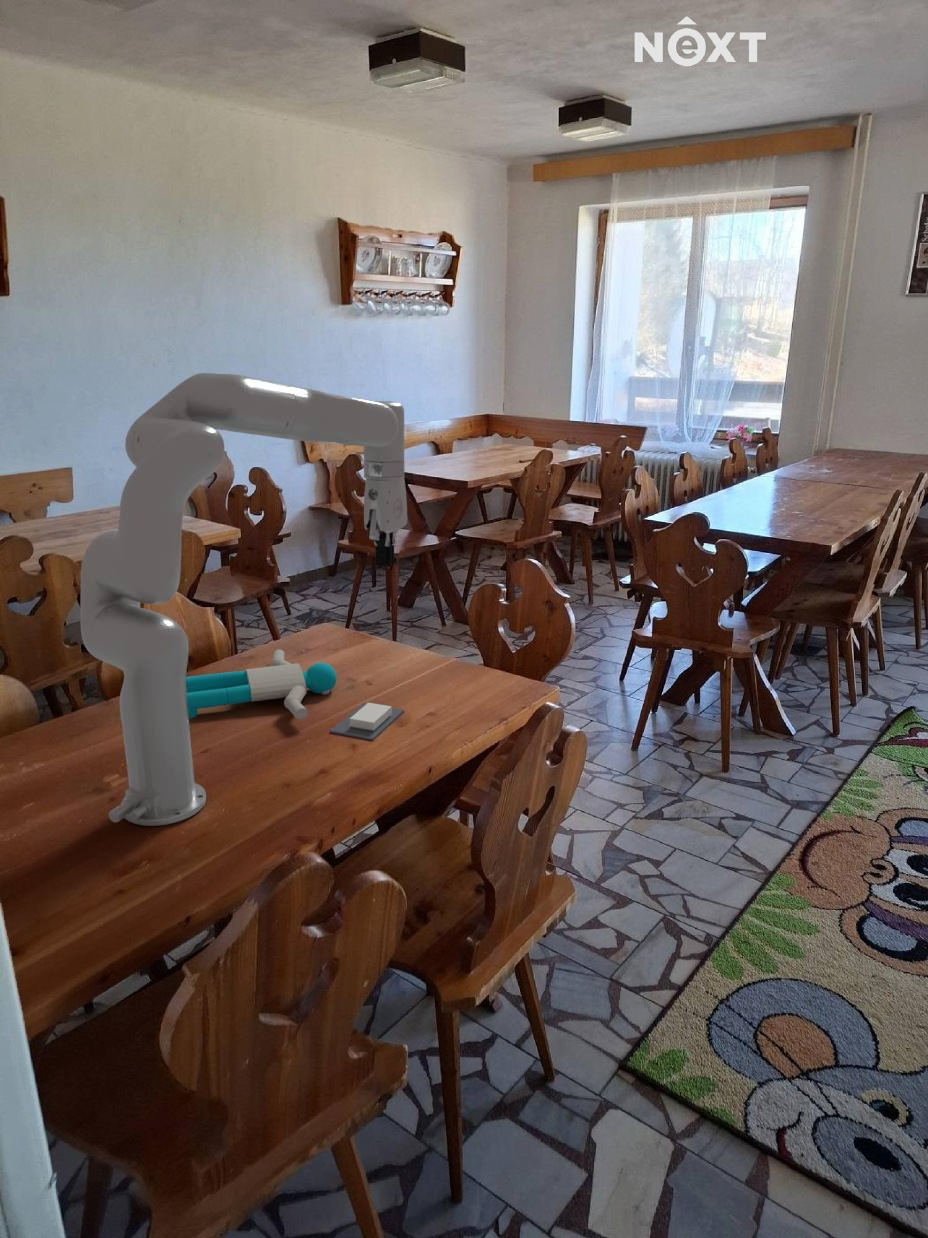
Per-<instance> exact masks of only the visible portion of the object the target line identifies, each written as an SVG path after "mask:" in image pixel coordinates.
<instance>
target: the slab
mask: <svg viewBox="0 0 928 1238" xmlns="http://www.w3.org/2000/svg"><path fill="white" fill-rule="evenodd" d="M392 708H393V707H392V706H390V705H385V704H379V703H373V702H367V704H366V705H365V706H364V707H363V708H361V709H360V710H359V711H358V712H357V713H356V714H354V715H353V716H352V717H351V718H350V726H351V727H352V728H358V729H363V730H369V731H375V730H376V729H377V728H378V727H379V726H380V725H381V724H382V723H383V722H385V721H386V720H387V719H388V718H389V717H390V715H391V714H392Z"/></svg>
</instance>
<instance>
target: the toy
mask: <svg viewBox="0 0 928 1238" xmlns="http://www.w3.org/2000/svg"><path fill="white" fill-rule="evenodd" d="M285 654H286V653H285V651H284V650H283V649H276V650H274V651H273V653H272V659H271V661H270V666H264V667H262V666H261V667H254V668H246V669H244V670H240V671H227V672H220V673H207V674H201V675H192V676H186V697H187V709H188V718H189V719H193V718H195V717H197V716H198V709H199V710H200V709H206V708H207V709H208V708H215V707H222V706H227V705H229V706H230V705H236V704H241V703H247V702H251V703H252V702H259V701H267V700H268V701H269V700H276V699H282V698H285V699H284V700H283V705H284V707H285V708H286V709H288V710H289V711H290V712H291V714H292V715H293V716H294V717H295V718H296V719H297V720H304V719H305V718H307V716H308V714H309V712H308V710H307V708H305V706H304V705H303V704H302V701H303V698H304V697H305V696H306V695H307V692H308V690H310V692H312V693H314V694H318V695H320V694H321V695H323V696H327V695H329V694H330V692H331V691H332V690H333V688H334V687H335V685H336V684H337V673H336V671H335V669H334V667H333V666H331V665H330V664H328V663H325V662H316V663H314V664H312V665H310V666H309V667H308V668H307V670H304V671H303V669H302V667H301V665H300V664H299V663H298V662H297V663H290V662H288V661H287V660H285ZM307 689H308V690H307ZM196 715H197V716H196ZM192 717H193V718H192Z"/></svg>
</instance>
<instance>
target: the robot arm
mask: <svg viewBox="0 0 928 1238" xmlns="http://www.w3.org/2000/svg"><path fill="white" fill-rule="evenodd" d="M218 430H219V431H227V432H232V433H241V434H247V435H257V436H263V437H270V438H278V439H279V438H280V439H285V440H292V441H301V442H310V443H311V442H315V443H316V442H318V443H319V442H320V443H321V442H323V443H324V442H325V443H336V444H341V445H348V446H355V447H356V446H358V447H363V478H365V484H364V485H365V486H364V499H363V521H364V522H363V524H364V529H365V530H366V531H367V532H369V540H372V541H373V543H374V546H375V565H376V566H379V567H386V568H391V567H392V566H394V565H395V544H396V534H397V533H398V531H400V529H402V528H404V527H405V526H406V525H407V524H408V503H407V502H408V501H407V500H408V499H407V489H406V482H405V409H404V406H403V405H402V404H401V403H400V402H397V401H390V400H389V401H388V400H387V401H386V400H376V401H375V400H374V401H371V400H366V399H361V398H355V397H351V396H344V395H338V394H334V393H329V392H328V393H327V392H324V391H321V390H317V389H316V390H315V389H312V388H306V387H300V386H296V385H291V384H286V383H280V382H275V381H271V380H265V379H260V378H255V377H251V376H246V375H240V374H231V373H215V372H214V373H212V372H211V373H210V372H201V373H196V374H193V375H192V376H190V377H188V378H186V379H185V380H183V381H182V382H181V383H179V384H178V385H177V386H175V387H174V388H173V389H172V390H170V391H169V392H168V393H166V394H165V395H164V396H163V397H162V398H160V399H159V400H158V401H157V402H156V403H154V404H153V405H152V406H151V407H149V409H147V410H146V411H145V412H143V413H142V414H141V415H140V416H138V418H136V420H135V421H134V422H133V423H132V425H131V426H130V427H129V430H128V431H127V433H126V437H125V444H124V445H125V452H126V455H127V457H128V460H129V461H130V462H131V463H132V464H133V465H134V466H135V469H134V470H133V471H132V473H131V474H130V475H129V477H128V479H127V480H126V482H125V484H124V487H123V490H122V493H121V495H120V496H121V497H120V502H119V503H120V504H119V517H118V529H117V530H110V531H106V532H103V533H100V534H98V535H97V536H96V537H95V538H93V539H92V540H91V542H90V543H89V545H88V546H87V547H86V550H85V552H84V554H83V557H82V561H81V566H80V633H81V638H82V642H83V645H84V647H85V648H86V650H87V652H88V653H89V654H90V655H91V656H93V657H94V658H96V659H98V660H100V661H102V662H104V663H106V664H109V665H111V666H114V667H116V668H117V669H119V670H121V671H122V672H123V675H124V676H123V677H124V678H123V682H122V686H121V689H120V690H121V691H120V694H119V695H120V696H119V713H120V714H119V715H120V720H121V726H122V735H123V743H124V753H125V759H126V769H127V778H128V786H129V787H128V788H127V789H125V790H124V793H125V797H124V798H123V799H122V801H121V803H120V804H119V805H117V806H116V807H115V808H113V809H112V810H110V811H109V812H108V818H109V820H110V821H111V822H113V823H118V822H120V821H121V820H123V819H125V820H126V821H128V822H129V823H132V824H135V825H140V826H147V827H150V826H151V827H157V826H158V827H159V826H165V825H171V824H176V823H179V822H181V821H183V820H186V819H189V818H190V817H192V816H194V815H196V814H197V813H198V812H200V811H201V810H202V808H203V807H204V806H205V804H206V803H207V795H206V790H205V788H204V786H203V787H202V786H201V784H198V783H196V782H195V775H194V762H193V754H192V753H193V751H192V745H191V744H192V743H191V741H192V740H191V732H190V721H189V720H190V718H189V716H188V707H187V697H186V693H187V692H186V677H187V668H188V661H189V660H188V659H189V652H190V651H189V649H190V648H189V641H188V637H187V635H186V632H185V631H184V630H183V628H182V626H181V625H179V623H177V622H176V620H173V619H172V618H170V617H169V616H166V615H164V614H162V613H159V612H156V611H152V610H150V609H147V608H143V607H141V604H144V605H145V604H146V605H161V604H164V603H166V602H168V601H170V600H171V599H173V597H175V595H176V593H177V591H178V590H179V585H180V581H181V569H182V567H181V565H182V564H181V563H182V562H181V561H182V539H183V538H182V533H183V532H182V530H183V517H184V511H185V507H186V505H187V502H188V500H189V498H190V497H191V494H193V492H194V491H195V489H196V488H197V487H198V486H199V485H200V484H202V482H204V481H205V480H207V478H209V477H210V476H212V475H213V474H214V473H215V472H216V471H217V469H219V467H220V466H221V464H222V462H223V459H224V454H225V442H224V439H223V436H222V434H221V433H220V432H219V431H218Z"/></svg>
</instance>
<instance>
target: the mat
mask: <svg viewBox="0 0 928 1238" xmlns="http://www.w3.org/2000/svg"><path fill="white" fill-rule="evenodd" d="M367 703H368V702H367ZM367 703H366V702H363V703H361V704H360V705H359V706H358V707H356V708H355V709H354V710H352V712H350V713H349V714H347V716H346V717H344V718H343V719H342V720H340V722H338V723H336V725H334V726H333V727H331V728H330V730H329V733H330V734H336V735H341V736H347V737H352V738H356V739H357V738H358V739H363V740H368V741H374V740H375V739H376V738H377V737H378V736H380V735H381V734H382V732H384V731H385V730H387V728H388V727H390V726H391V724H393V723H394V722H395V721H396V720H397V719H398V718H399V717H400V716H401V715H402V714H403V713H405V709H402V708H395V707H392V714H391V715H390V717H389V718H388V719H387V720H386V721H385V722H383V723H382V724H381V725H380V726H379V727H378V728H377V729H376V730H375V731H369V730H363V729H358V728H352V727H351V726H350V718H351V717H352V716H353V715H354V714H356V713H357V712H358V711H359V710H360V709H361V708H363V707H364V706H365V705H366V704H367Z"/></svg>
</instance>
